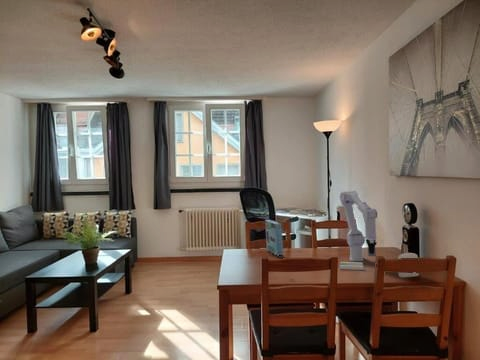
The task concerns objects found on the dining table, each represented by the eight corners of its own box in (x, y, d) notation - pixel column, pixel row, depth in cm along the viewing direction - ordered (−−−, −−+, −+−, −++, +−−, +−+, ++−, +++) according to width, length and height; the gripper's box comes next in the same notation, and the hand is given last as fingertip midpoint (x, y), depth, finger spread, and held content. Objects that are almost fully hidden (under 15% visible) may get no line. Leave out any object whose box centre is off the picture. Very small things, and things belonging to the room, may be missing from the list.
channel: (340, 265, 204) (339, 261, 204) (362, 265, 200) (362, 262, 200) (339, 269, 196) (339, 265, 196) (363, 270, 192) (363, 266, 192)
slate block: (367, 254, 200) (367, 247, 200) (375, 254, 199) (374, 247, 199) (368, 256, 196) (368, 249, 196) (375, 256, 195) (375, 249, 195)
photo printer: (401, 278, 176) (400, 254, 175) (397, 275, 180) (396, 252, 180) (420, 276, 177) (419, 253, 176) (415, 274, 181) (414, 251, 181)
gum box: (283, 256, 231) (281, 223, 231) (276, 257, 230) (275, 223, 229) (272, 250, 250) (271, 219, 249) (266, 250, 248) (264, 220, 248)
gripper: (362, 227, 205) (363, 249, 205) (364, 231, 191) (364, 255, 192) (374, 227, 203) (375, 249, 203) (377, 232, 189) (378, 255, 189)
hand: (371, 252), depth 197 cm, fingers closed on slate block, 4 cm apart
